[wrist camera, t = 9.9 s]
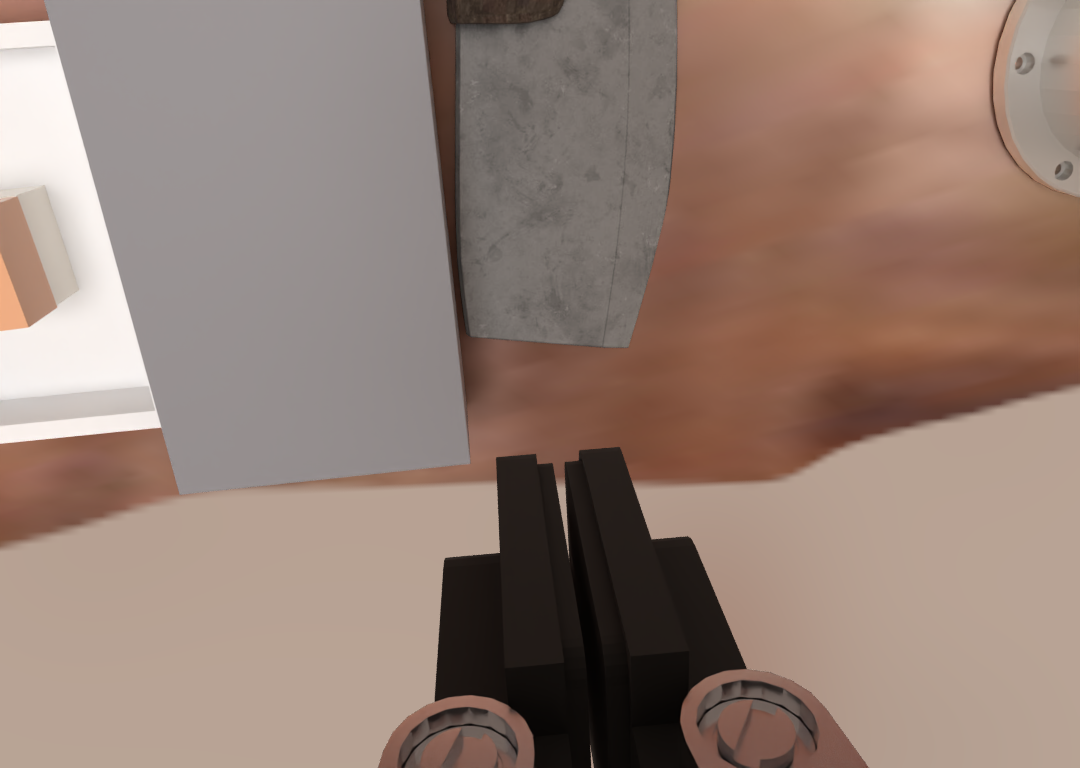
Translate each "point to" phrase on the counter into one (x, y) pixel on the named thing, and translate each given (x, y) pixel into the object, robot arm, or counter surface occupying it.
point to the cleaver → (561, 163)
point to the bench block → (276, 230)
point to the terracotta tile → (20, 272)
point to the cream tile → (46, 239)
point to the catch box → (100, 304)
